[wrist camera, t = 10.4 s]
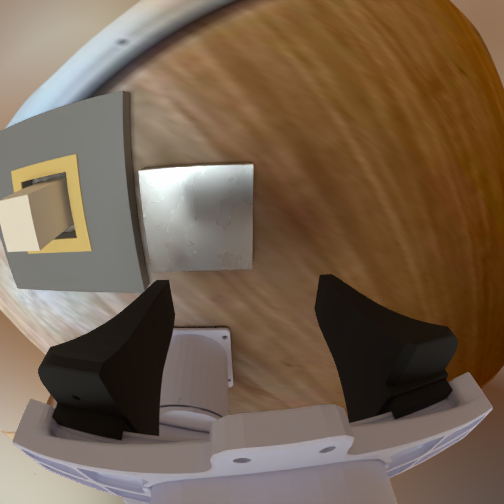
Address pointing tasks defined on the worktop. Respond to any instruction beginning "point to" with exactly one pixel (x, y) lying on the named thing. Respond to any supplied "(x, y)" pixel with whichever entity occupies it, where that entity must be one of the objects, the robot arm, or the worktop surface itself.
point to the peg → (35, 215)
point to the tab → (198, 216)
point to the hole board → (80, 196)
